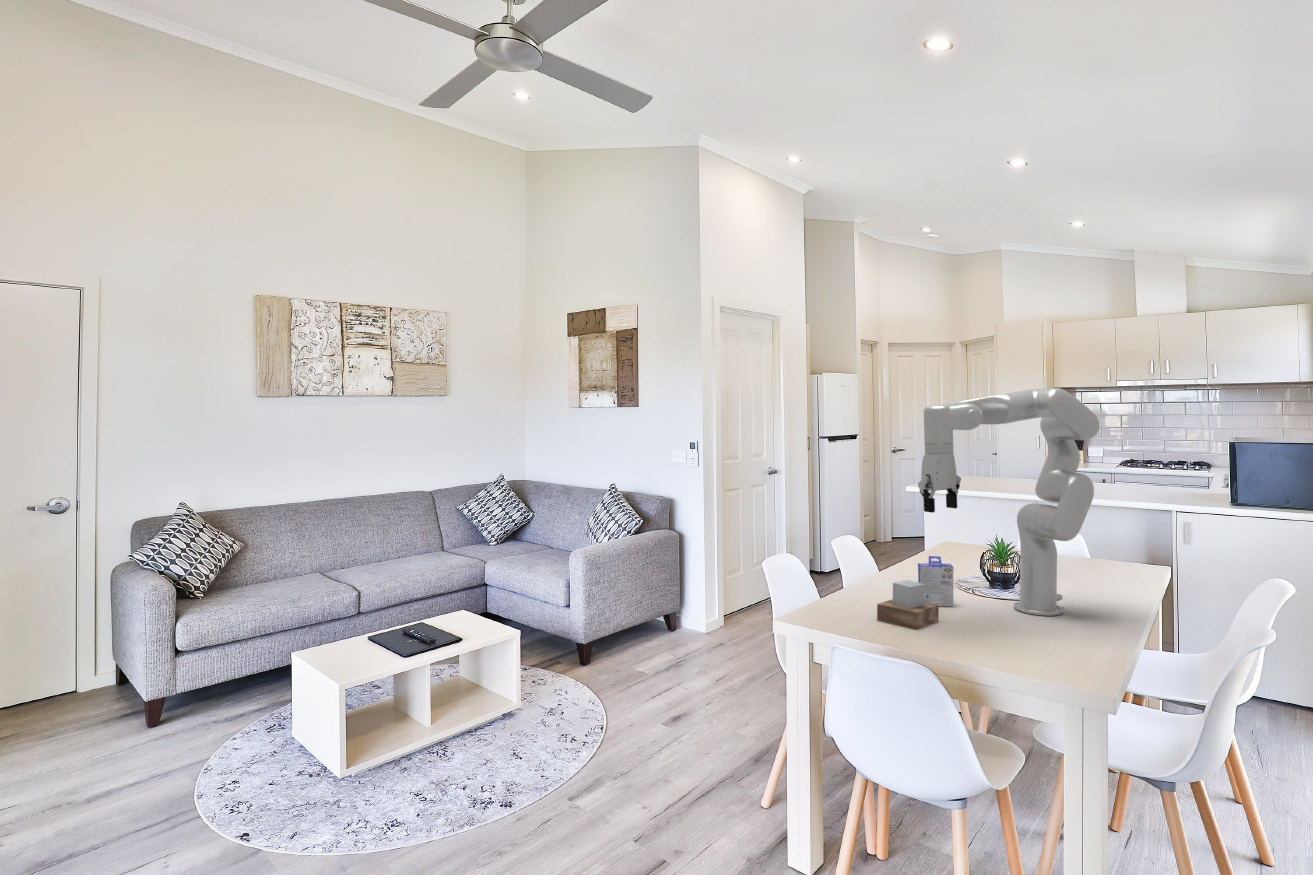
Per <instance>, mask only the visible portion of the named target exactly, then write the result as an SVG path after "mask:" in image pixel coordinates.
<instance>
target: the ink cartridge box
mask: <svg viewBox="0 0 1313 875" xmlns="http://www.w3.org/2000/svg"><path fill="white" fill-rule="evenodd" d="M932 559H937V560H932ZM954 569H955V568H954V566H953V565H952V564H951V563H942V556H939V555H928V562H927V563H924V562H921V563H919V562H918V563H917V577H918V578H917V581H918V582H917V583H921V584H925V602H927V603H931V604H936V605H939V607H954Z"/></svg>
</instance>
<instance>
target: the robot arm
mask: <svg viewBox="0 0 1313 875" xmlns="http://www.w3.org/2000/svg"><path fill="white" fill-rule="evenodd" d="M1038 418H1040V424H1039V427H1040V431H1041V433H1042V435H1043V437H1044V439H1045V441H1046V444H1047V448H1048V451H1047V456H1046V459H1045V462H1044V465H1043V466H1042V468H1041V471H1040V474H1039V477H1038V478H1037V481H1036V483H1035V489H1034V491H1035V495H1036V496H1037V497H1038V498H1039V499H1040V500H1043V501H1044V502H1048V503H1054V504H1057V505H1051V504H1045V503H1038V502H1036V503H1035V502H1031V503H1028V504H1025V505H1023V506H1022V507H1020V509H1019V510H1018V513H1017V516H1016V524H1017V528H1018V534H1019V541H1020V542H1019V543H1020V544H1019V545H1020V547H1019V548H1020V558H1019V559H1020V561H1019V562H1020V563H1019V564H1020V565H1019V567H1020V568H1019V569H1020V570H1019V571H1020V574H1019V582H1020V583H1019V601H1016V602H1014V604H1013V607H1014V609H1015V610H1016V611H1019V612H1021V613H1024V614H1028V615H1036V616H1044V617H1045V616H1047V617H1048V616H1049V617H1051V616H1052V617H1054V616H1059V615H1062V614H1063V610H1064V609H1063V608H1062V607H1061V606H1059V605H1058V604H1057V602H1058V601H1062V600H1063V598H1064V597H1063V594H1060V593H1057V592H1058V591H1057V589H1058V588H1057V586H1058V583H1057V582H1058V551H1057V546H1056V543H1055V541H1059V542H1069V541H1071V540H1073V539H1075V538H1076V537H1077V536H1078V534H1079V532H1080V531H1081V529H1082V527H1083V524H1084V522H1085V520H1086V518H1087V515H1088V512H1089V510H1090V508H1091V505H1092V502H1093V499H1094V495H1095V486H1094V482H1093V481H1092V479H1091V478H1090V476H1087V475H1086V474H1085V473H1081V472H1077V471H1078V468H1079V466H1080V461H1081V454H1080V450H1079V448H1078V445H1077V443H1076V441H1087V440H1091V439H1092V438H1094V437H1095V436H1096V435H1097V434H1098V433H1099V430H1100V420H1099V418H1098V417H1097V415H1096V414H1095V412H1094V411H1092V409H1090V408H1089V407H1088V406H1087V405H1085V404H1084V403H1083V402H1082V401H1081V400H1079V398H1077V397H1076V396H1074V395H1072V394H1071V393H1070V392H1068V391H1067V390H1064V389H1063V388H1058V387H1049V388H1048V387H1047V388H1045V387H1043V388H1032V389H1026V390H1020V391H1019V390H1018V391H1015V392H1009V393H1003V394H995V395H989V396H984V397H980V398H974V399H968V400H960V401H954V402H953V401H952V402H948V403H945V404H941V405H938V404H937V405H928V406H925V407H924V409H923V434H924V435H923V436H924V440H923V441H924V454H923V455H922V460H921V470H920V472H921V474H920V475H921V476H920V480H919V482H917V486H918V489H919V493H920V494H921V497H922V498H923V511H924V512H926V513H931V514H933V513H935V511H936V507H935V506H936V500H935V499H936V498H935V497H934V495H935V493H936V492H938V491H943V490H944V491H946V492H947V493H945V500H946V501H945V503H946V504H945V505H946V506H945V507H946V508H948V509H949V508H950V509H957V508H958V494H959V489H960V484H961V481H962V477H960V476H959V475H958V474H957V465H956V458H955V454H954V431H958V430H959V431H971V430H975V429H976V428H978V427H980V425H1003V424H1012V423H1017V422H1020V421H1026V420H1027V421H1028V420H1032V419H1033V420H1034V419H1038Z"/></svg>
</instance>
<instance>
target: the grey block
mask: <svg viewBox="0 0 1313 875" xmlns="http://www.w3.org/2000/svg"><path fill="white" fill-rule="evenodd" d="M892 599H893V604H896V605H899V606H903V607H906V608H909V609H910V608H915V607H920V606H925V584H921V583H918V582H916V581H913V580H909V579H906V580H899V581H894V582H892Z"/></svg>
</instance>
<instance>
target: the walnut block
mask: <svg viewBox="0 0 1313 875" xmlns="http://www.w3.org/2000/svg"><path fill="white" fill-rule="evenodd" d="M876 606H877V607H876V610H877V611H876V612H877V613H876V621H880V622H884V623H887V624H892V625H895V626H900V627H902V628H903V627H904V628H907V629H912V630H919V629H922V628H924V627H927V626H930V625H932V624H934V623H938V622H939V619H940V618H939V612H940V611H939V609H940V608H939V607H940V606H939V605H936V604H931V603H927V602H925V606H920V607H915V608H910V609H909V608H906V607H903V606H899V605H896V604H893V598H892V599H889V600H886V601H883V602H880V603H877V604H876Z"/></svg>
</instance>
